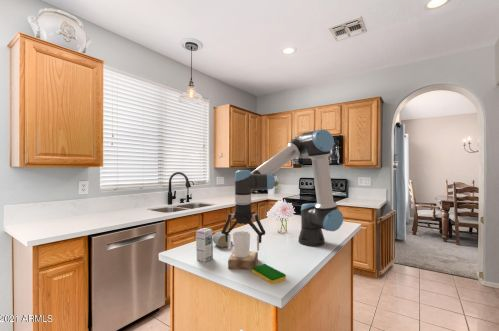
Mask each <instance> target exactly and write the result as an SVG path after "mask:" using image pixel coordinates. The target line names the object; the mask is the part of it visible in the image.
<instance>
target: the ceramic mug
mask: <svg viewBox="0 0 499 331" xmlns="http://www.w3.org/2000/svg"><path fill="white" fill-rule="evenodd" d="M212 240H213V243H214V245H216V246H218V247H219V248H226V247H228V242H226V236H225V234H222V230H221V231H219V230H218V231H216V232H215V233H214V234H212ZM233 244H234V243H233V241H231V246H232V245H233Z"/></svg>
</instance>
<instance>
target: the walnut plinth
mask: <svg viewBox="0 0 499 331" xmlns="http://www.w3.org/2000/svg"><path fill="white" fill-rule="evenodd" d="M258 252H259V251H250V250H249V256H248V257H244V258H239V257H236V256H235V252H234V250H233V251H232V253H231V255H230V257H229V258H228V261H227V262H228V263H227V266H228V267H227V269H229V270H230V269H231V270H247V271H249V270H251V271H252V267H255V266H258V260H259V253H258Z"/></svg>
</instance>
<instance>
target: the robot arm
mask: <svg viewBox="0 0 499 331" xmlns="http://www.w3.org/2000/svg"><path fill="white" fill-rule="evenodd" d="M334 139H335V138H334V137H333V135H332V133H331V132H330V131H329V130H328V129H327V130H326V129H315V130H312V131H307V132H303V133H302V134H300V135H298V136H297V137H295V138H294V139H293V140H291V141H290V142H288V144H287V146H286V147H285V148H283V149H282V150H281V151H279V152H278V153H276V154H275V155H273V156H272V157H271V158H269V159H268V160H267V161H265V162H263V163H262V164H261V165H260V166H258V167H256V169H255V168H254V170H252V171H251V170H247V169H245V170H236V171H235V174H234V203H235V204H234V213H229V214H228V216H227V220H226V222H225V224H224V226H223V228H222V230H221V232H222V234H225V236H226V242H228V245H227V251H231V250H230V249H231V248H232V245H231V236H232V235H231V232H232V230H233V229H234V228H235V227H236V225H237V224H239V225H247V224H248V225H249V226H250V227H251V228H252V230H253V231H254V232H255V234H257V235H256V252H259V250H260V244H262V239H263V238H262V236H265V235H266V231H265V229H264V226H263V224H262V222H261V221H260V218H259V213H255V214H253V213H252V204H251V203H252V191H260V190H261V191H265V190H266V191H268V190H272V189H274V188H275V184H276V179H275V177H274V175H273V174H274V173H276V172H277V171H279V170H280V169H281V168H283V167H284V166H285V165H287V164H288V163H290V162H291V161H292V160H293V159H295V158H299V157H301V156H302V155H304V154H307V156H308V158H309V159H311V163H312V172H313V180H314V186H315V187H314V188H315V196H316V202H313V203H303V204H302V205H301V207H300V215H301V216H300V220H301V221H300V222H301V223H300V224H301V225H300V226H301V228H300V232H299V235H298V243H299V244H301V245H304V246H309V247H319V246H323V245H325V244H326V243H325V242H326V241H325V240H326V239H325V236H324V233H323V230H325V231H327V232H328V231H329V232H336V231H338V230H339V229H340V228H341V226H342V224H343V222H344V215H343V212H342V211H340V210H339V209H338V204H337V203H336V202H335V201H334V195H333V188H332V186H333V185H332V179H331V170H330V163H329V161H330V160H329V156H330V155H331V153H332V152H331V150H333V148H334V145H335V140H334ZM252 218H253V219H254V220H255V223H256V224H257V225H256V224H254V222H253V220H252ZM232 219H235V221H234V222H233V224H232V225H231V226H230V227H229V225H230V223H231V221H232ZM228 227H229V229H228ZM227 229H228V230H227Z"/></svg>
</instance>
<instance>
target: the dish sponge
mask: <svg viewBox="0 0 499 331" xmlns="http://www.w3.org/2000/svg"><path fill="white" fill-rule="evenodd" d="M251 272H252V273H253V274H254V275H256V276H257V277H259V278H261V279H263V280H264V281H265V282H267V283H269V284H270V285H275V284H278V283H280V282H284V281H286V279H287V278H286V276H287V275H286V274H285V273H284V272H282V271H280V270H277V269H275V268H274V267H272V266H270V265H267V264H266V263H262V264H259V265H256V266H255V267H252V270H251ZM252 273H251V274H252Z"/></svg>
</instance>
